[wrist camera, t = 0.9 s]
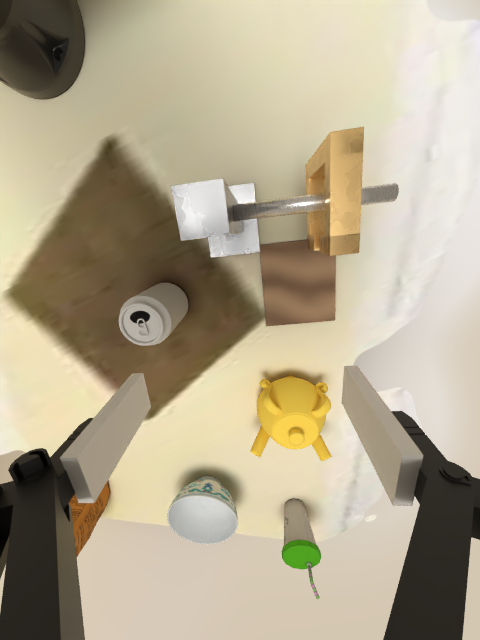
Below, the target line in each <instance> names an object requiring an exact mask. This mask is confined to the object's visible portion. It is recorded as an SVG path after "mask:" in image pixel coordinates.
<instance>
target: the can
mask: <svg viewBox="0 0 480 640" xmlns="http://www.w3.org/2000/svg"><path fill="white" fill-rule="evenodd" d="M187 311H188V299H187V297H186V295H185V293H184V292H183V291H182V290H181V288H179V287H178V286H176V285H175V284H171V283H159V284H157V285H155V286H153V287H151V288H149V289H147V290H145V291H143V292H141V293H140V294H138V295H136V296H134V297H132V298H130V299H129V300H128V301H126V302H125V303H124V304H123V306H122V308H121V310H120V315H119V326H120V329H121V331H122V333H123V335H124V336H125V337H126V338H127V339H128V340H129V341H131V342H133V343H134V344H138V345H141V346H144V345H155V344H158V343H161V342H162V341H163V340H165V339H166V338H167V337H168V336H169V334H170V333H171V332H172V331H173V330H174V329H175V327H176V326H177V325H178V324H179V323H180V321H181V320H182V319H183V318H184V316H185V315H186V313H187Z"/></svg>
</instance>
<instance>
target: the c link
mask: <svg viewBox="0 0 480 640" xmlns="http://www.w3.org/2000/svg"><path fill="white" fill-rule="evenodd" d="M363 138H364V127H360V128H353V129H347V130H340V131H334V132H330V133H329V135H328V136H327V137H326V139H325V140H324V141H323V143H322V144H321V145H320V147H319V148H318V149H317V151H316V152H315V153H314V155H313V156H312V157H311V159H310V160H309V161H308V163H307V164H306V165H305V167H306V195H311V194H319V193H325V210H321V211H313V212H307V244H308V249H311V250H314V251H316V250H320V253H323V254H326V255H329V256H334V255H343V254H352V253H359V242H360V216H361V190H362V164H363Z"/></svg>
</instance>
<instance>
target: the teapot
mask: <svg viewBox="0 0 480 640" xmlns="http://www.w3.org/2000/svg"><path fill="white" fill-rule="evenodd" d="M260 386H261V387H262V388H263V391H262V392H261V394H260V395H259V397H258V401H257V413H258V417H259V420H260V423H261V425H262V426H261V428H260V430H259V432H258V435H257V437H256V439H255V441H254V444H253V446H252V448H251V450H250V451H251V452H252V453H253V454H254V455H256V456H258V457H261V454H262V452H263V450H264V448H265V446H266V443H267V441H268V439H269V437H271V438H272V439H273V440H274V441H275V442H277V443H278V444H280V445H281V446H283V447H285V448H289V449H301V448H305V447H307V446H309V445H310V444H312V446H313V447H314V449H315V451H316V453H317V455H318V456H319V458H320V460H321V461H324V460H326V459H328V458H330V457H331V454H330V452H329V451H328V449H327V447H326V445H325V443H324V441H323V439H322V437H321V435H320V432H321V430H322V428H323V425H324V422H325V417H326V414H327V413H328V411H329V410H330V408H331V402H330V400H329V398H328V397H327V396H326V395H325V394H324V393H325V392H327V390H328V387H327V385H326V384H325V383H323V382H320V383H317V384H316V386H314V385H313V384H312V383H310V382H308V381H306V380H304V379H300V378H295V377H294V376H292V375H288V376H286V377H285V378H282V379H278V380H276V381H274V382H272V383H270V382H269V381H268V380H267V379H263V380H261V381H260Z"/></svg>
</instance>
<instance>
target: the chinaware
mask: <svg viewBox="0 0 480 640" xmlns="http://www.w3.org/2000/svg"><path fill="white" fill-rule="evenodd" d="M167 518H168V522H169V525H170V527H171V528H172V529H173V530H174V532H176V533H177V534H178V535H179V536H181V537H183V538H185V539H186V540H189V541H192V542H196V543H200V544H214V543H219V542H223V541H225V540H227V539H229V538H230V537H231V536H232V535H233V534H234V533H235V531H236V529H237V525H238V519H237V512H236V507H235V504H234V501H233V499H232V497H231V495H230V493H229V492H228V491H227V489H226V488H225V487H224V486H222V484H221V482H220V481H219V480H218V479H216V478H214V477H210V476H204V477H201V478H199V479H198V480H197V481H194V482H192V483H190V484H188V485H187V486H185V487H184V488H183V489H182V490H181V491H180V492H179V493H178V495H177V496H176V497H175V499H174V500H173V502H172V504H171V506H170V508H169V510H168V514H167Z"/></svg>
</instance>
